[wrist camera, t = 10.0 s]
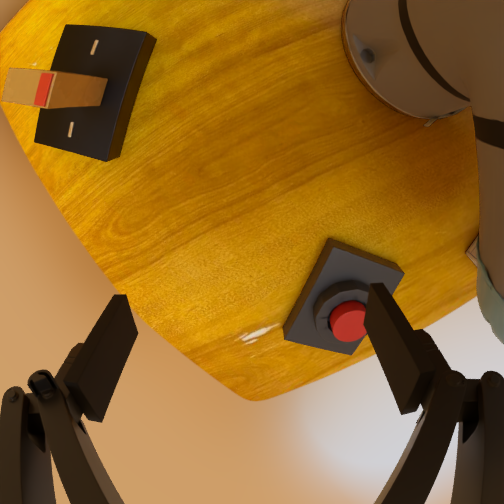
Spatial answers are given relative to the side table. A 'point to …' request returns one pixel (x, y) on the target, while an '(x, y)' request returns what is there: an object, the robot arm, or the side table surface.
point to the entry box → (336, 294)
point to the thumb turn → (52, 88)
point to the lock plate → (115, 95)
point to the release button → (348, 321)
